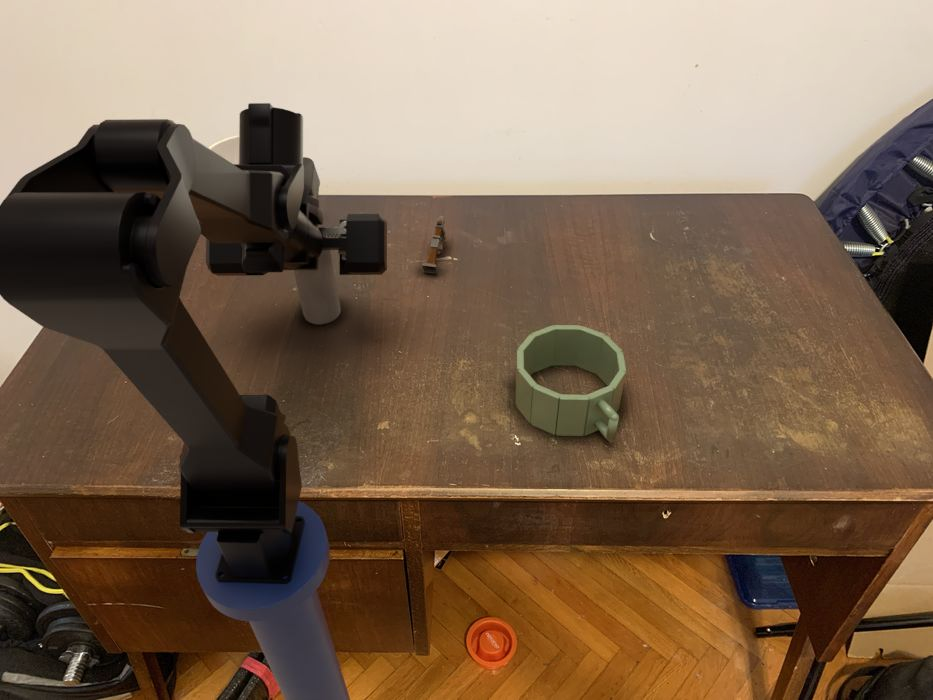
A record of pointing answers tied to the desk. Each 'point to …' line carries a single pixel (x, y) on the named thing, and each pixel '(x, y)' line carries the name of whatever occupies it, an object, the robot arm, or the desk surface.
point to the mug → (569, 409)
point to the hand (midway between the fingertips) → (315, 257)
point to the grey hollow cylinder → (319, 291)
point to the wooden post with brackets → (435, 246)
